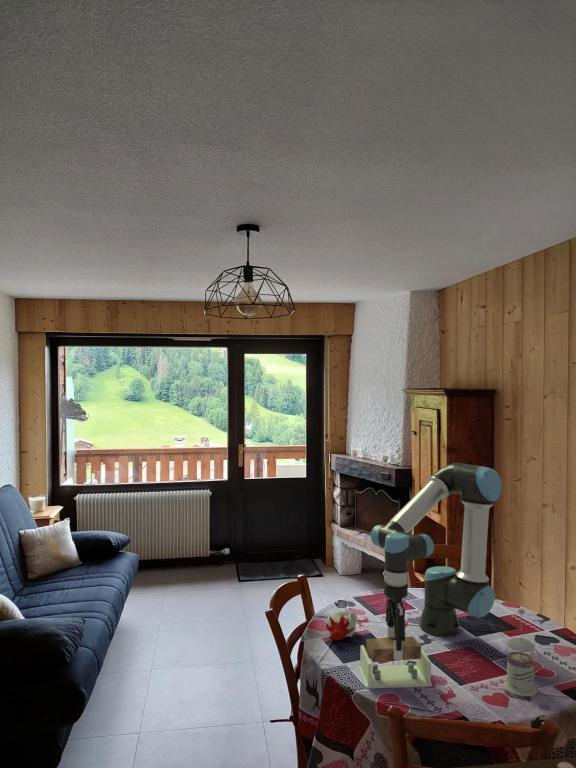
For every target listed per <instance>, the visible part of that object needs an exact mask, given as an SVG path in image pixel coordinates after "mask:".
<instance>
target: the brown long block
mask: <svg viewBox="0 0 576 768" xmlns="http://www.w3.org/2000/svg"><path fill="white" fill-rule="evenodd" d="M394 638H395V637H394ZM365 644H366V645H365V646H366V647H365V650H366V652H367V655H368V657H369V659H370V661H371V663H379V662H382V663H383V662H393V661H398V660H394V659H393V652H394V640H393V638H387V637H380V638H367V639H366V641H365ZM421 648H422V646H421V644H420V643H419V642H418V641H417V639H416V638H415V636H405V641H403V653H402V660H401V661H407V660H409V661H410V660H416V659H421Z"/></svg>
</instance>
